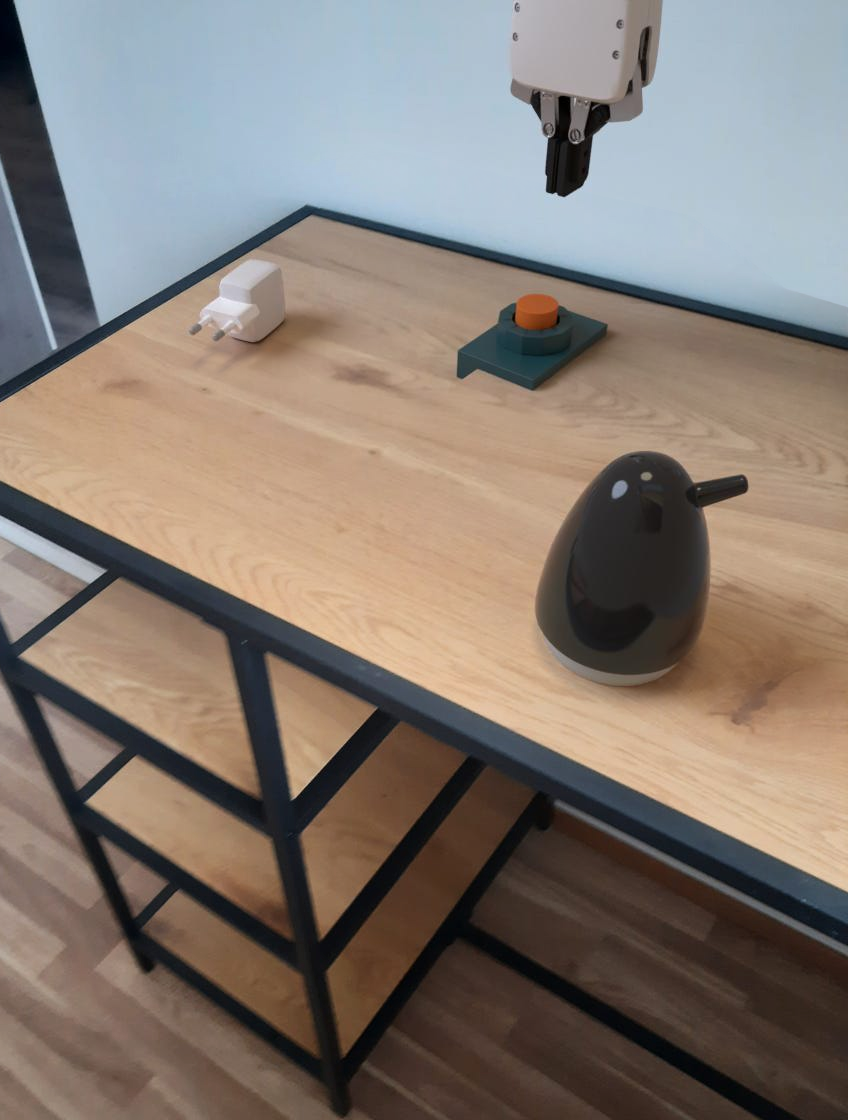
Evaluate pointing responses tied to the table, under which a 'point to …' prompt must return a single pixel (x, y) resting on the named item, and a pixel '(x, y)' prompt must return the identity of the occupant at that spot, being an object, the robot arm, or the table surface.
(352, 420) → the table surface
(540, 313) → the orange button
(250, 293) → the power adapter
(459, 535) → the table surface
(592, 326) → the button housing
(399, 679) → the table surface
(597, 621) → the pump dispenser
